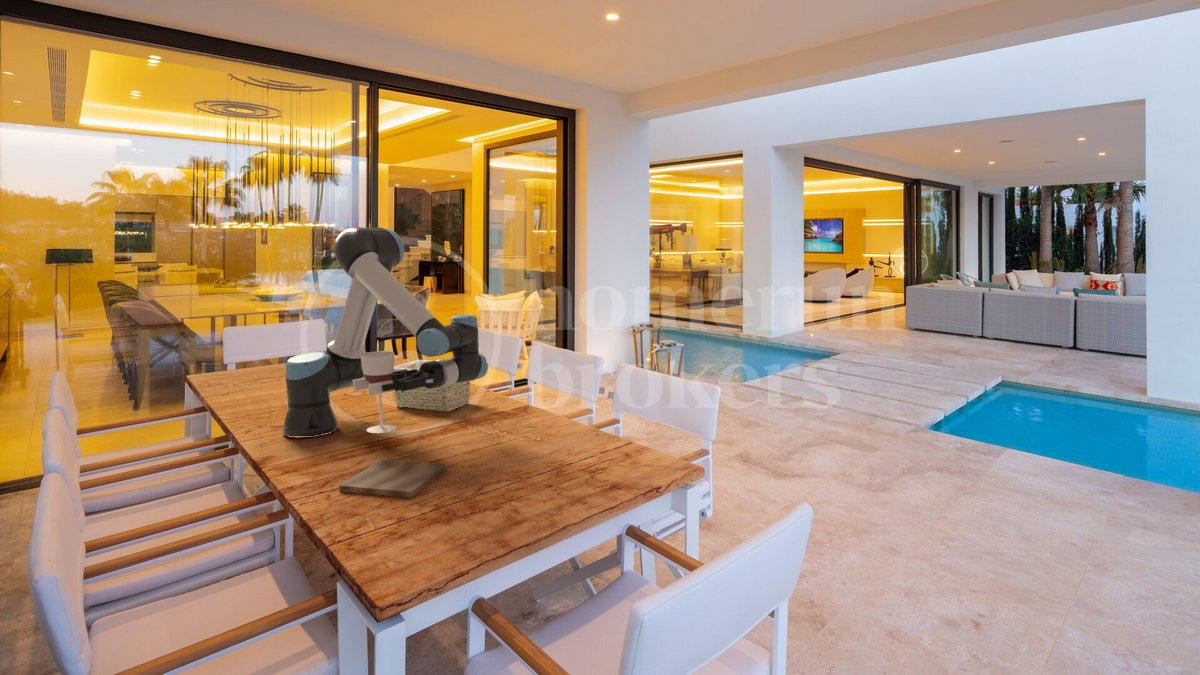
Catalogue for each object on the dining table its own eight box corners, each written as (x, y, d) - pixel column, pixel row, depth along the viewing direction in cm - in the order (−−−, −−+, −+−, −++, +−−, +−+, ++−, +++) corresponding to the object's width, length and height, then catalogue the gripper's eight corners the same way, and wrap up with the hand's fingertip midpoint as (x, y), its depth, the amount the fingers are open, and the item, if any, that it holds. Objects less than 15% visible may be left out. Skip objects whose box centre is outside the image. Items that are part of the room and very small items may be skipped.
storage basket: (390, 408, 218) (388, 366, 216) (419, 397, 233) (417, 358, 231) (448, 414, 209) (447, 371, 207) (474, 403, 224) (473, 362, 222)
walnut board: (339, 491, 144) (339, 485, 144) (382, 464, 161) (381, 459, 161) (411, 498, 140) (411, 491, 140) (446, 470, 158) (446, 464, 158)
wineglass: (383, 422, 170) (379, 350, 167) (404, 427, 165) (401, 353, 162) (358, 429, 164) (353, 354, 161) (379, 435, 159) (374, 358, 156)
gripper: (459, 391, 170) (382, 408, 153) (418, 381, 183) (343, 395, 166) (458, 364, 169) (380, 378, 152) (417, 356, 182) (341, 368, 165)
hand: (361, 387), depth 159 cm, fingers closed on wineglass, 7 cm apart
